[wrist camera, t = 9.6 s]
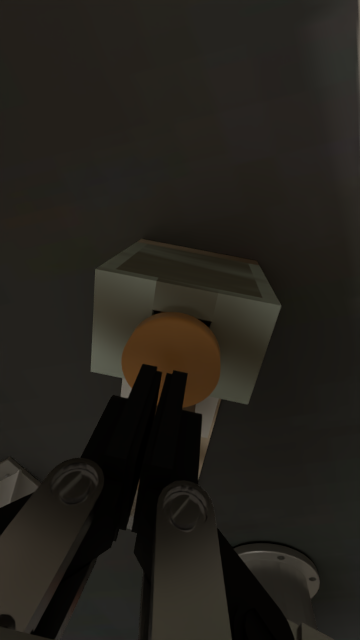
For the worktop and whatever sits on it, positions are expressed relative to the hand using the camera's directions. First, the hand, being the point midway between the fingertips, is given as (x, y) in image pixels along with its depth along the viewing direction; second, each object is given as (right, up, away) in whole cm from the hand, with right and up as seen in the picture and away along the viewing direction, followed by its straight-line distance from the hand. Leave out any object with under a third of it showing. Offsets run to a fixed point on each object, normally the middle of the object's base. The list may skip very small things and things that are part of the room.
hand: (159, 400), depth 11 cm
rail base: (0, -3, +17) cm, 18 cm away
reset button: (+1, +2, +5) cm, 6 cm away
